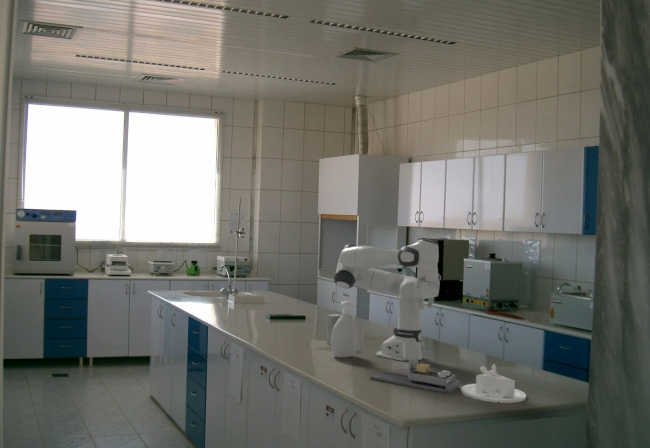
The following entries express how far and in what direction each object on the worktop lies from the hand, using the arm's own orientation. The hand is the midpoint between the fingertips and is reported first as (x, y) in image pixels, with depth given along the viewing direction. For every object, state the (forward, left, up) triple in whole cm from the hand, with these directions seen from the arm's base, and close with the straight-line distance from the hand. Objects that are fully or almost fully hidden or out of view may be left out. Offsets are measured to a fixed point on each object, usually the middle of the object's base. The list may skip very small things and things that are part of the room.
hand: (425, 308), depth 286 cm
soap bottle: (-45, +10, -29) cm, 55 cm away
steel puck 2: (+16, -14, -25) cm, 33 cm away
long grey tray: (+11, -16, -28) cm, 34 cm away
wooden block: (+6, -16, -25) cm, 31 cm away
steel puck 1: (+16, -18, -25) cm, 35 cm away
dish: (+34, -10, -30) cm, 46 cm away
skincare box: (-63, +33, -29) cm, 77 cm away
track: (+3, -16, -29) cm, 33 cm away
